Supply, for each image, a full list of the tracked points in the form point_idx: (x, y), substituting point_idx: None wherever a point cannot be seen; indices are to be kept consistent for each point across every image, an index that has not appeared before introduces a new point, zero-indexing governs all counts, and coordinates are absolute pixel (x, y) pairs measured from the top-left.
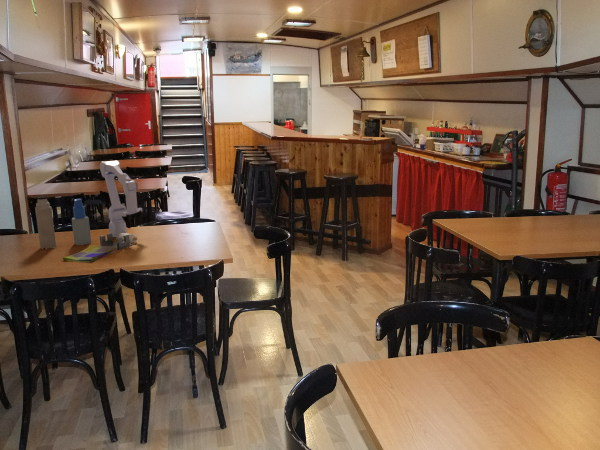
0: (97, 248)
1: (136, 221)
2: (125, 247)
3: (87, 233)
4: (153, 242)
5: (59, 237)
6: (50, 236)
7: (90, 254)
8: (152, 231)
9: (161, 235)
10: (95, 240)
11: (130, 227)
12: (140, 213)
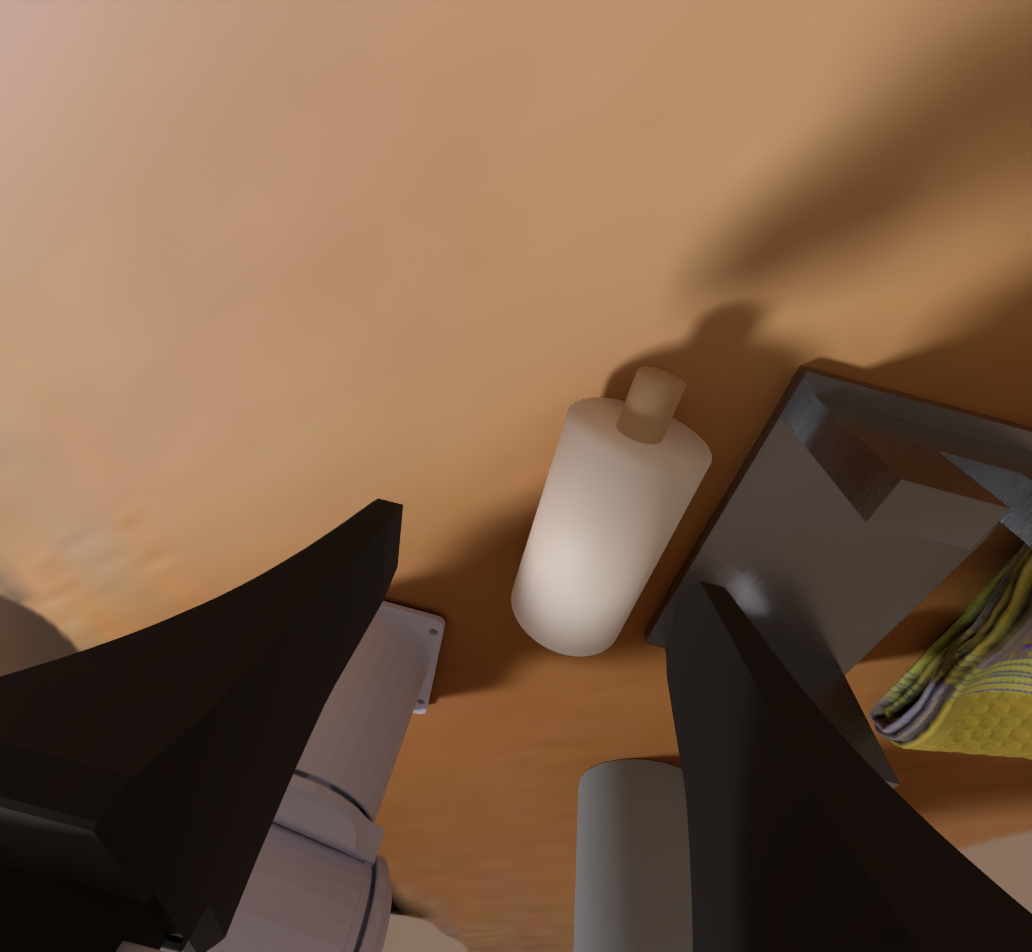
0: (1012, 676)
1: (360, 626)
2: (943, 405)
3: (682, 877)
4: (595, 29)
5: (507, 885)
6: None
7: None
8: (58, 421)
9: (122, 166)
10: (554, 749)
11: (720, 593)
12: (127, 817)
